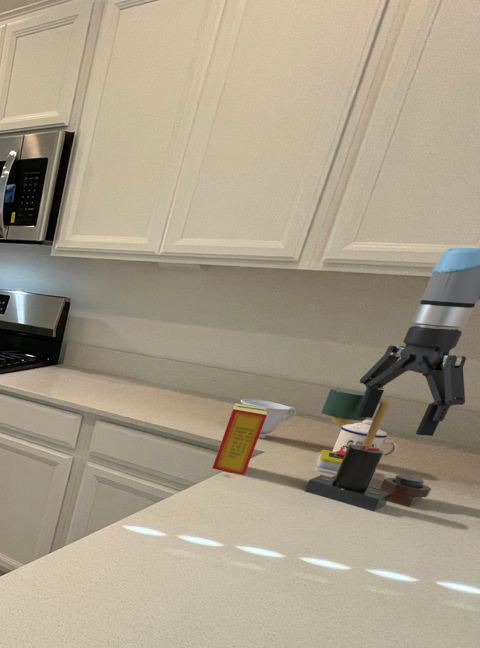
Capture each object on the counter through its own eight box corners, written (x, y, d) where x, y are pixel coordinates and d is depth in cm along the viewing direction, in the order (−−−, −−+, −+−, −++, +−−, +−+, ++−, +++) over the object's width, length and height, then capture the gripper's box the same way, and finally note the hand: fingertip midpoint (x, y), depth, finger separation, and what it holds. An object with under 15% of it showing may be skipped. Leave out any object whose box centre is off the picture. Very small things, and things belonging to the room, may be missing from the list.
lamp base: (428, 501, 135) (436, 485, 133) (416, 509, 130) (424, 493, 128) (342, 478, 147) (348, 464, 145) (328, 485, 142) (334, 469, 140)
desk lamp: (374, 471, 141) (407, 399, 134) (363, 476, 137) (397, 402, 130) (309, 455, 151) (337, 386, 144) (297, 459, 147) (325, 389, 140)
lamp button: (423, 487, 133) (426, 480, 132) (417, 490, 131) (421, 483, 130) (396, 480, 137) (399, 473, 136) (390, 483, 134) (394, 476, 134)
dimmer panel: (386, 504, 131) (392, 491, 130) (372, 512, 126) (378, 499, 125) (318, 485, 141) (323, 473, 140) (302, 492, 136) (308, 479, 135)
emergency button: (369, 453, 154) (371, 465, 144) (363, 468, 156) (363, 481, 145) (323, 443, 160) (321, 455, 150) (316, 458, 162) (314, 470, 151)
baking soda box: (244, 475, 144) (267, 413, 139) (212, 468, 148) (233, 407, 143) (245, 466, 151) (267, 407, 146) (215, 459, 155) (235, 401, 150)
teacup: (298, 443, 175) (311, 411, 172) (244, 438, 177) (256, 406, 173) (272, 432, 186) (283, 401, 183) (221, 427, 188) (232, 397, 185)
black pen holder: (349, 490, 130) (366, 451, 126) (326, 480, 135) (342, 442, 132) (373, 491, 130) (391, 452, 127) (349, 482, 135) (366, 444, 132)
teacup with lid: (331, 460, 161) (348, 420, 157) (326, 452, 168) (343, 413, 164) (391, 471, 154) (411, 430, 150) (384, 463, 161) (403, 423, 157)
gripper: (526, 336, 108) (472, 444, 116) (397, 321, 132) (359, 411, 139) (483, 334, 109) (433, 442, 116) (362, 319, 132) (326, 409, 139)
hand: (392, 425), depth 128 cm, fingers open, 13 cm apart
